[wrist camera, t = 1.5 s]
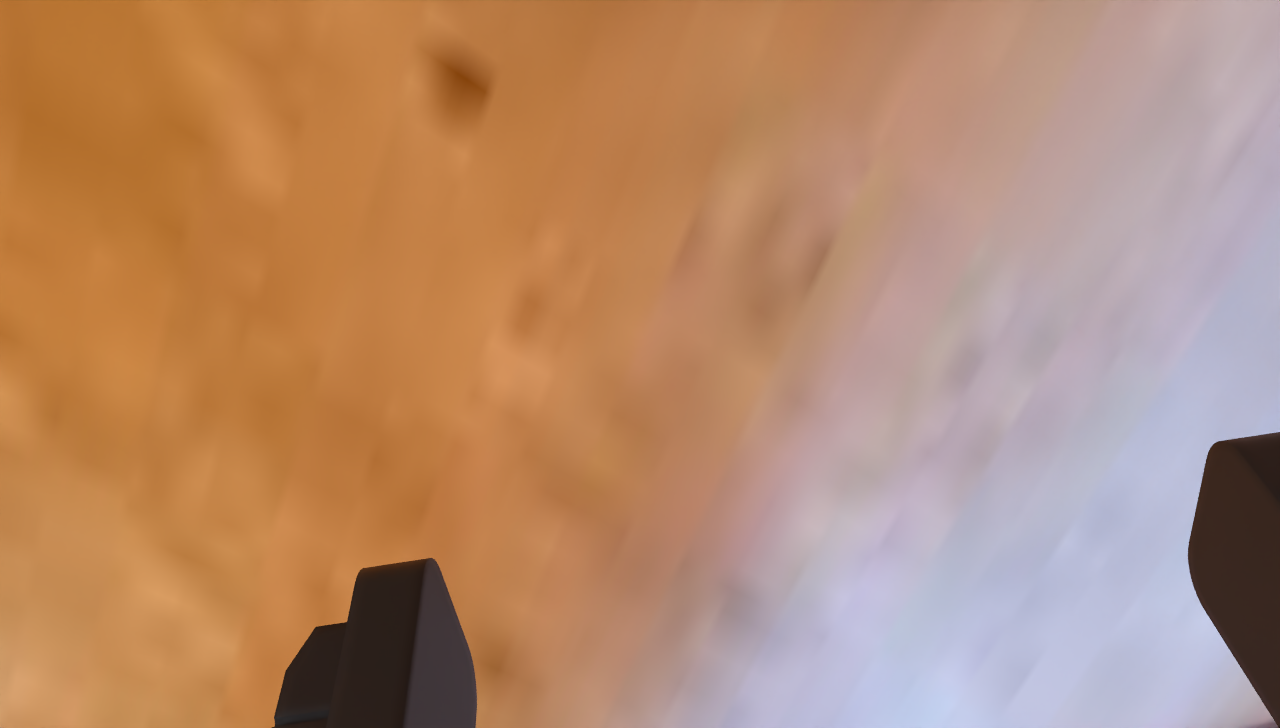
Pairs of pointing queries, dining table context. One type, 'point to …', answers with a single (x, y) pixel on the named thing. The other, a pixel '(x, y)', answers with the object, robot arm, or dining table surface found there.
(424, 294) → the dining table surface
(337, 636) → the robot arm
